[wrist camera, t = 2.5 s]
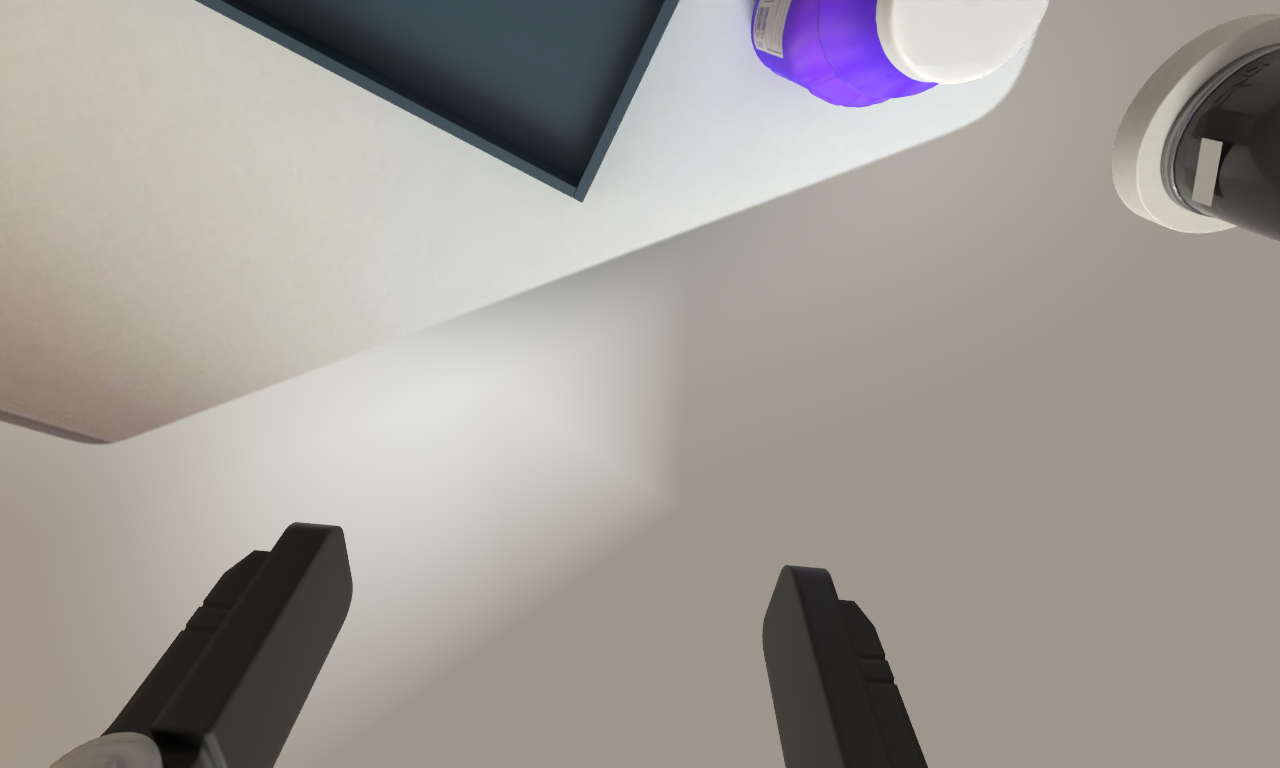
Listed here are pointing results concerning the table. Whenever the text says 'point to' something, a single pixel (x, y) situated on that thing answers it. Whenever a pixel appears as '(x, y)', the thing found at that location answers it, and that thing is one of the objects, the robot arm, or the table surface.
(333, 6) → the tray
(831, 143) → the table surface
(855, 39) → the bottle
